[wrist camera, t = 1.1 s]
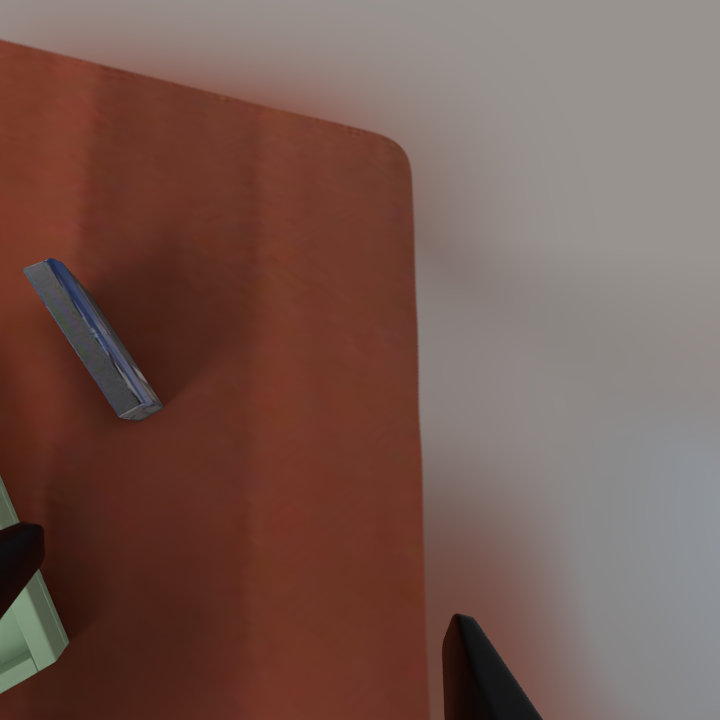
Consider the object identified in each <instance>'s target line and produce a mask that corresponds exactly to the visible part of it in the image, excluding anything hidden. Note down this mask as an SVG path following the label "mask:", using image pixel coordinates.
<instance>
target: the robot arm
mask: <svg viewBox="0 0 720 720" xmlns="http://www.w3.org/2000/svg"><path fill="white" fill-rule="evenodd" d="M44 556H45V546H44V529H43V527H42V526H41V525H38V524H33V523H29V522H19V523H16V524H14V525H11V526H9V527H6V528H4V529H1V530H0V620H1V618H2V617H3V616H4V614H5V613H6V612H7V610H8V609H9V608H10V606H11V605H12V604H13V602H14V601H15V600H16V598H17V597H18V596H19V594H20V593H21V592H22V590H23V589H24V588H25V586H26V585H27V584H28V582H29V581H30V580H31V578H32V577H33V576H34V574H35V573H36V572H37V570H38V569H39V568H40V566H41V564H42V562H43V560H44ZM442 662H443V687H444V715H445V720H543V719H542V718H541V717H540V715H539V713H538V712H537V710H536V709H535V708H534V706H533V705H532V703H531V702H530V700H529V699H528V697H527V696H526V694H525V693H524V691H523V690H522V688H521V687H520V686H519V684H518V682H517V681H516V679H515V678H514V676H513V675H512V673H511V672H510V670H509V669H508V667H507V666H506V664H504V662H503V660H502V659H501V657H500V656H499V654H498V653H497V651H496V650H495V648H494V647H493V645H492V644H491V642H490V641H489V639H488V638H487V636H486V635H485V633H484V632H483V630H482V629H481V627H480V626H479V625H478V623H477V622H476V620H475V619H474V618H473V617H471V616H466V615H462V614H455V615H453V617H452V619H451V622H450V624H449V627H448V630H447V632H446V635H445V637H444V641H443V647H442Z"/></svg>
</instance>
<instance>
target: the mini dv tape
mask: <svg viewBox="0 0 720 720" xmlns="http://www.w3.org/2000/svg"><path fill="white" fill-rule="evenodd" d="M22 270H23V272H24V273H25V275H26V276H27V278H28V279H29V281H30V282H31V284H32V285H33V287H34V288H35V290H36V291H37V293H38V295H39V296H40V298H41V299H42V301H43V302H44V304H45V305H46V307H47V308H48V310H49V311H50V313H51V314H52V316H53V317H54V319H55V320H56V322H57V323H58V325H59V327H60V328H61V330H62V331H63V333H64V334H65V336H66V337H67V339H68V340H69V342H70V343H71V345H72V346H73V348H74V349H75V351H76V352H77V354H78V355H79V357H80V358H81V360H82V362H83V363H84V365H85V366H86V368H87V369H88V371H89V372H90V374H91V375H92V377H93V378H94V380H95V381H96V383H97V384H98V386H99V387H100V389H101V390H102V392H103V394H104V395H105V397H106V398H107V400H108V401H109V403H110V404H111V406H112V407H113V409H114V410H115V412H116V413H117V415H118V416H119V417H120V418H124V419H130V420H136V421H141V420H143V419H145V418H147V417H148V416H150V415H152V414H154V413H155V412H157V411H159V410H161V409H162V408H164V406H163V405H162V403H161V402H160V400H159V399H158V397H157V396H156V394H155V393H154V391H153V390H152V388H151V386H150V385H149V383H148V382H147V380H146V379H145V377H144V376H143V374H142V373H141V371H140V370H139V368H138V366H137V365H136V363H135V362H134V360H133V359H132V357H131V356H130V354H129V353H128V351H127V350H126V348H125V346H124V345H123V343H122V342H121V340H120V339H119V337H118V336H117V334H116V333H115V331H114V330H113V328H112V327H111V325H110V323H109V322H108V320H107V319H106V317H105V316H104V314H103V313H102V311H101V310H100V308H99V307H98V305H97V303H96V302H95V300H94V299H93V297H92V296H91V294H90V293H89V292H88V291H87V290H86V289H85V288H84V287H83V285H82V284H81V283H80V282H79V281H78V280H77V279H76V278H75V277H74V275H73V274H72V273H71V272H70V271H69V270H68V269H67V268H66V266H65V265H64V264H63V263H62V262H60V261H57V260H55V259H53V258H50V259H47V260H45V261H42V262H39V263H37V264H34V265H31V266H29V267H26V268H24V269H22Z"/></svg>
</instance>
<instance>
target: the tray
mask: <svg viewBox="0 0 720 720" xmlns="http://www.w3.org/2000/svg"><path fill="white" fill-rule="evenodd" d="M16 523H19V519H18V517H17V514H16V512H15V510H14V507H13V505H12V502H11V500H10V498H9V495H8V493H7V490H6V488H5V485H4V483H3V481H2V478H1V476H0V530H1V529H4V528H6V527H9V526H11V525H14V524H16ZM68 644H69V640H68V638H67V635H66V633H65V631H64V628H63V626H62V623H61V621H60V618H59V616H58V614H57V611H56V609H55V606H54V604H53V602H52V599H51V597H50V594H49V592H48V589H47V587H46V585H45V582H44V580H43V577H42V575H41V573H40V570H39V569H38V570H37V572H36V573H35V574H34V576H33V577H32V578H31V580H30V581H29V582H28V584H27V585H26V586H25V588H24V589H23V590H22V592H21V593H20V594H19V596H18V597H17V598H16V600H15V601H14V602H13V604H12V605H11V606H10V608H9V609H8V610H7V612H6V613H5V614H4V616H3V617H2V618H1V620H0V694H1V693H2V692H4V691H6V690H8V689H9V688H11V687H13V686H15V685H16V684H18V683H20V682H22V681H23V680H25V679H27V678H29V677H30V676H32V675H34V674H36V673H37V672H38V671H40V670H42V669H44V668H46V667H47V666H49V665H51V664H53V663H54V662H56V661H57V659H58V658H59V656H60V655H61V653H62V652H63V650H64V649H65V647H66V646H67V645H68Z"/></svg>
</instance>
